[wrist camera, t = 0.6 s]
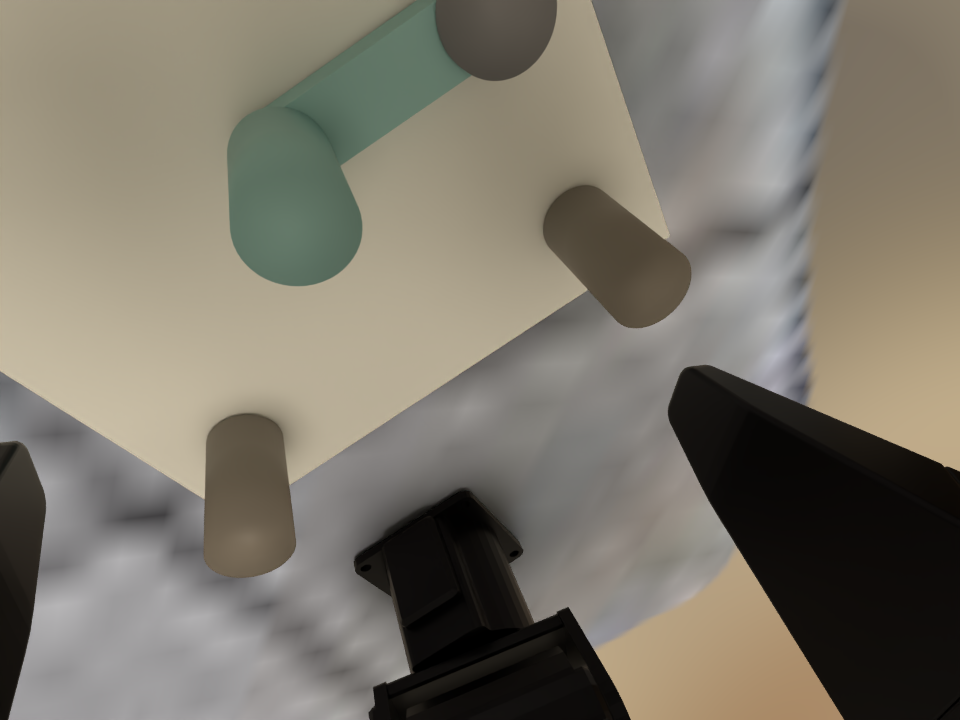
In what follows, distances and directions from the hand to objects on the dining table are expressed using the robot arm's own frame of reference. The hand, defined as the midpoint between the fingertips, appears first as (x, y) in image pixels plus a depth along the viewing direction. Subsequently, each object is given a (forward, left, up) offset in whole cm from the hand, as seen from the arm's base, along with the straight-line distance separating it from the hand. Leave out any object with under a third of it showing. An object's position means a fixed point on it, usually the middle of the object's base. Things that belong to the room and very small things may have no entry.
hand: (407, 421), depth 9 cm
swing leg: (+1, -3, -10) cm, 10 cm away
